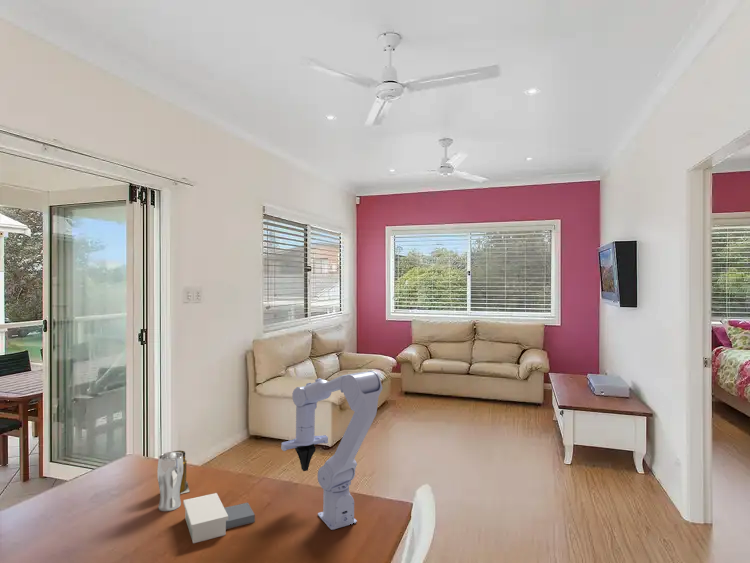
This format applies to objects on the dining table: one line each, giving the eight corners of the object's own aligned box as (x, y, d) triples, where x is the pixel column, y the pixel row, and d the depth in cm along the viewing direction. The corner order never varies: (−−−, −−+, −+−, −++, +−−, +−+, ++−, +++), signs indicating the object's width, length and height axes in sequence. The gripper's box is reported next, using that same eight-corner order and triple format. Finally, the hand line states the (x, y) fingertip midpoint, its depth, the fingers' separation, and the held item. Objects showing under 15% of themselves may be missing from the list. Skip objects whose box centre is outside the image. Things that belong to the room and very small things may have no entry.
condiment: (164, 497, 136) (165, 458, 137) (163, 486, 144) (163, 449, 144) (189, 492, 140) (190, 454, 140) (187, 482, 147) (187, 446, 148)
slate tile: (254, 523, 123) (254, 514, 123) (201, 537, 116) (201, 527, 116) (247, 510, 130) (247, 502, 130) (196, 522, 123) (196, 513, 123)
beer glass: (164, 514, 126) (165, 462, 126) (152, 507, 130) (153, 456, 130) (187, 505, 132) (188, 454, 132) (175, 498, 136) (175, 449, 136)
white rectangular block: (227, 535, 116) (228, 516, 116) (191, 545, 112) (191, 525, 112) (216, 510, 129) (216, 492, 129) (183, 518, 124) (183, 500, 125)
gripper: (321, 418, 143) (321, 460, 143) (278, 425, 136) (277, 469, 135) (331, 424, 137) (330, 468, 137) (286, 431, 130) (285, 478, 129)
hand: (304, 469), depth 136 cm, fingers closed
